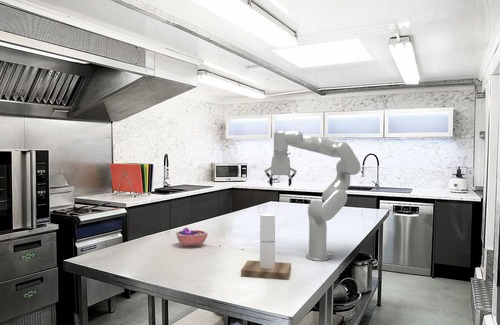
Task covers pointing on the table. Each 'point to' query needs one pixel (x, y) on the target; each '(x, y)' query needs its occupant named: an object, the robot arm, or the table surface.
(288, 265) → the walnut base board
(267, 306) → the table surface
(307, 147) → the robot arm
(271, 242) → the cylindrical container
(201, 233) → the cell model
